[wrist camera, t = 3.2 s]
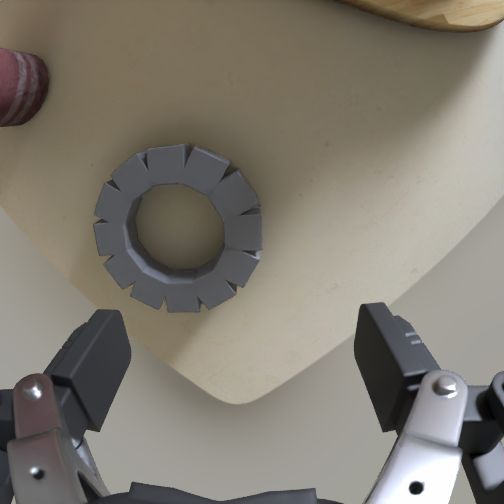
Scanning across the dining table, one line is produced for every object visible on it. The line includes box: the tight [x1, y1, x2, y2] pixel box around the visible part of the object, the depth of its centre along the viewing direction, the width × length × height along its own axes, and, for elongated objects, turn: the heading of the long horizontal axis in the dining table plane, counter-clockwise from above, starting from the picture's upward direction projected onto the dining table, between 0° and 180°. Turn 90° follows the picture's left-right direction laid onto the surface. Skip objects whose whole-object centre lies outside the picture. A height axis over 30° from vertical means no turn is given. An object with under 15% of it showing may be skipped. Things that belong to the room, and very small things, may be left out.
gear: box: [93, 144, 262, 312], centre depth 21 cm, size 12×12×2 cm
